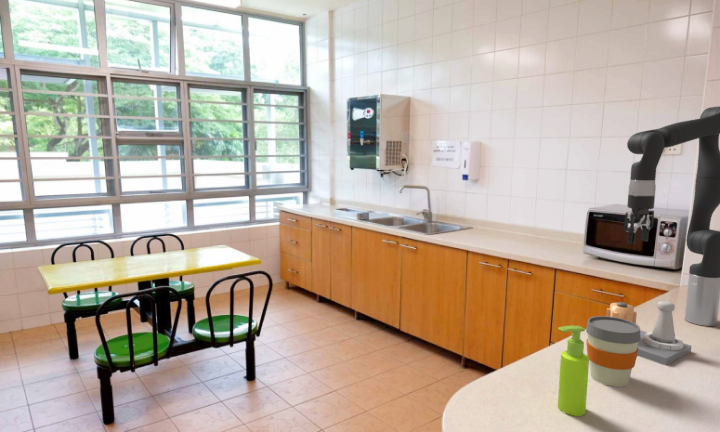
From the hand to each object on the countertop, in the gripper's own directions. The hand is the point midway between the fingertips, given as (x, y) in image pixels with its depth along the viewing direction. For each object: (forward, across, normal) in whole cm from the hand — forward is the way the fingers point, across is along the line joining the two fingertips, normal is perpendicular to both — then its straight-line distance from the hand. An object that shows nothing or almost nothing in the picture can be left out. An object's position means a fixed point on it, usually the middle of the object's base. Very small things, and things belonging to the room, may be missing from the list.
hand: (637, 242), depth 152 cm
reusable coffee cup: (+30, +41, +15) cm, 53 cm away
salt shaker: (+28, +9, +14) cm, 33 cm away
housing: (+30, +12, +9) cm, 34 cm away
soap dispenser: (+30, +64, +18) cm, 73 cm away
